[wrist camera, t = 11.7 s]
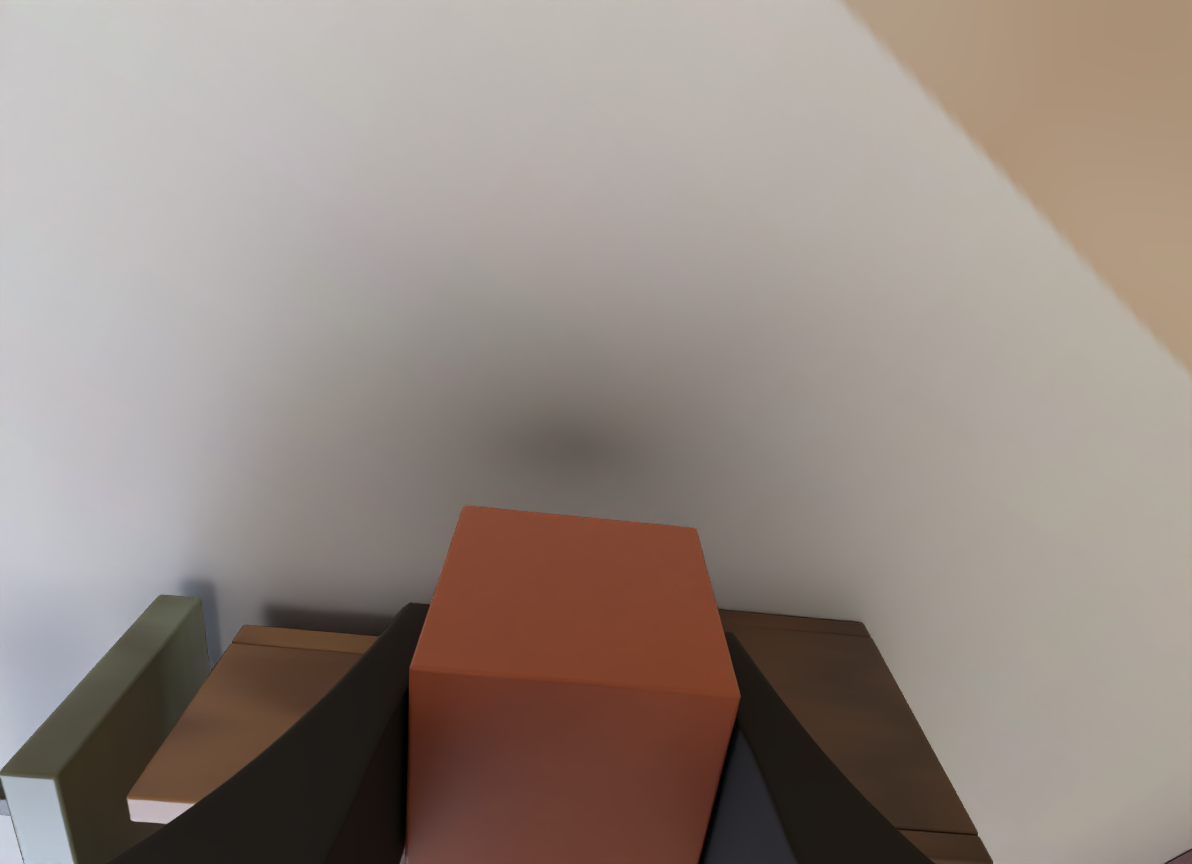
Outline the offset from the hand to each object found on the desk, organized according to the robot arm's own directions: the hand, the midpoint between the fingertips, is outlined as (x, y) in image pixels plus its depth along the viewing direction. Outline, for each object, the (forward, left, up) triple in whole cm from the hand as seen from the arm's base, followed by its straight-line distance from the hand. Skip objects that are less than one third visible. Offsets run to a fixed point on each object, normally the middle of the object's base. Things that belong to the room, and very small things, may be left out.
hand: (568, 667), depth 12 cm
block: (0, 0, -1) cm, 1 cm away
